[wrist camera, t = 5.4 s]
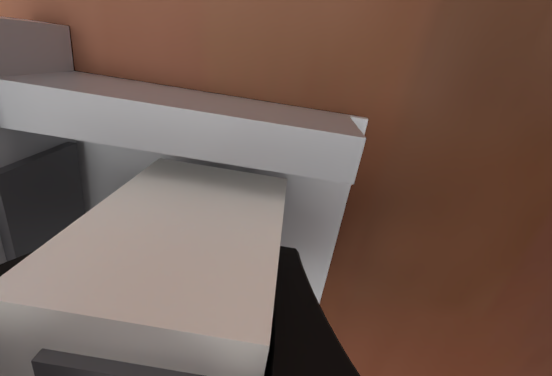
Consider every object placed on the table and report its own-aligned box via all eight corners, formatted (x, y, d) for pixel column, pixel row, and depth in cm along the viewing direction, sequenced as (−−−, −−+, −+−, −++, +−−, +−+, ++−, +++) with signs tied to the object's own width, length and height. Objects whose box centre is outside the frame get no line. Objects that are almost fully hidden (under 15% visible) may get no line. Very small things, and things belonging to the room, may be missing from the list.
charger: (287, 178, 10) (268, 359, 4) (269, 280, 11) (237, 512, 6) (159, 158, 10) (-42, 307, 4) (160, 262, 11) (18, 474, 6)
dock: (377, 75, 9) (426, 89, 6) (306, 347, 14) (308, 448, 11) (30, 20, 10) (-136, 0, 6) (76, 309, 14) (0, 397, 11)
